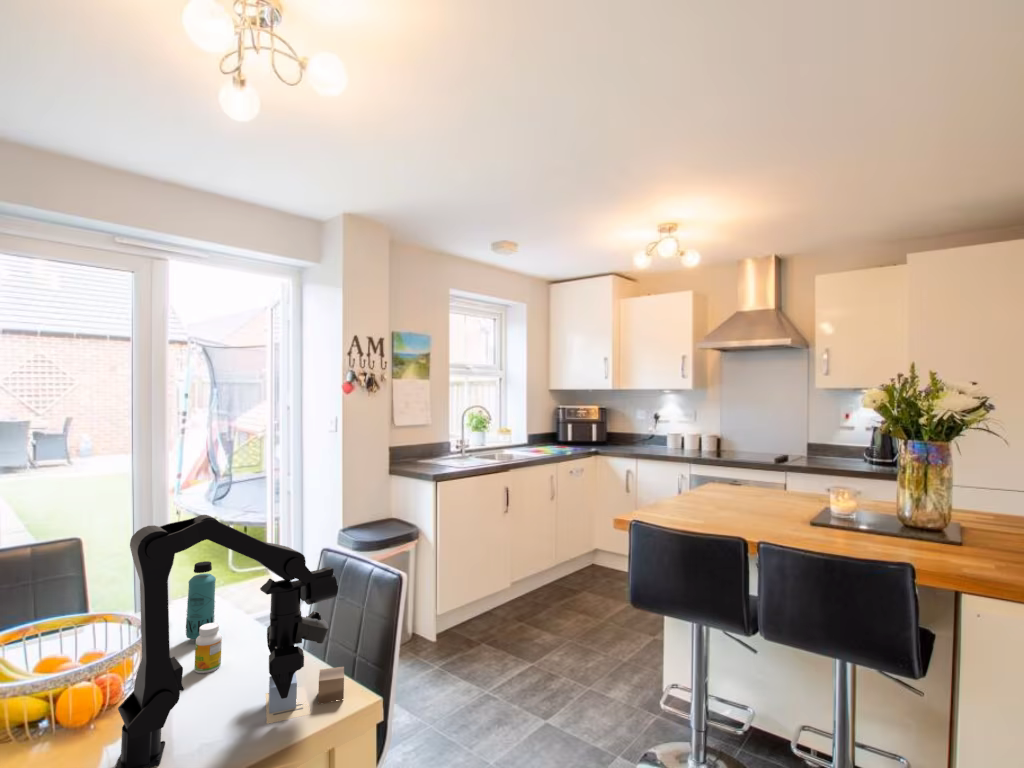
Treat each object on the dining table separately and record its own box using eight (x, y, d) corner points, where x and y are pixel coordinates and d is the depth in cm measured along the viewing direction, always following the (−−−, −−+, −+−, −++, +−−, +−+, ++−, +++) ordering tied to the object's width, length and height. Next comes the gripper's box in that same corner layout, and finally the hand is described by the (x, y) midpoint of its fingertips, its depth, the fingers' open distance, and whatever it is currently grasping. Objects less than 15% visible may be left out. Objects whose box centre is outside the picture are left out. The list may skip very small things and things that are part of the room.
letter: (310, 714, 107) (310, 713, 107) (266, 724, 104) (266, 723, 104) (305, 686, 118) (305, 685, 118) (265, 694, 114) (265, 693, 114)
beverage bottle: (186, 636, 142) (189, 560, 143) (215, 632, 145) (217, 557, 145) (183, 647, 136) (186, 567, 137) (213, 642, 139) (216, 564, 140)
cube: (269, 713, 107) (270, 688, 107) (268, 701, 111) (269, 676, 112) (296, 707, 109) (296, 682, 109) (294, 695, 114) (295, 671, 114)
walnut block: (343, 702, 112) (344, 677, 112) (318, 705, 111) (318, 681, 111) (343, 689, 117) (344, 666, 117) (319, 693, 115) (319, 669, 116)
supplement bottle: (189, 670, 124) (190, 627, 125) (211, 660, 129) (213, 619, 129) (203, 676, 122) (205, 632, 122) (225, 666, 127) (227, 624, 127)
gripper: (332, 620, 106) (329, 700, 106) (321, 590, 123) (319, 659, 122) (270, 629, 101) (267, 714, 101) (268, 597, 118) (265, 669, 118)
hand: (283, 686), depth 111 cm, fingers open, 9 cm apart
